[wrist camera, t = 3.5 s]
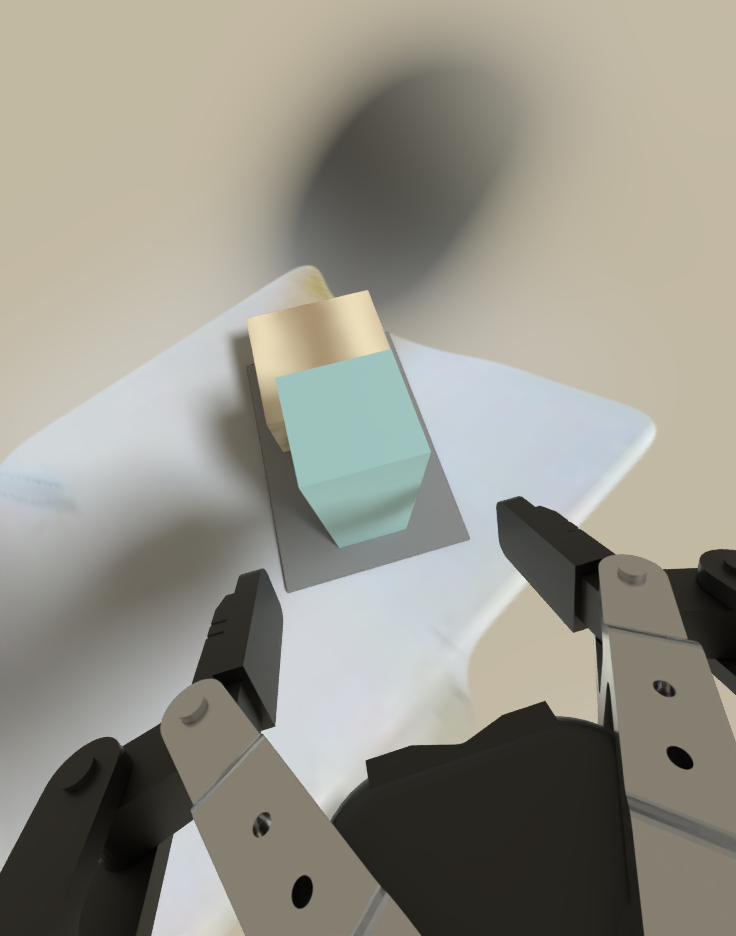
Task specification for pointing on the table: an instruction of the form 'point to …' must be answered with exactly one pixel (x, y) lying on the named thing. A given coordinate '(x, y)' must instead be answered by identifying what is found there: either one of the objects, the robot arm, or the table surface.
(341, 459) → the pillar
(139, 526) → the table surface
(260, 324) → the base block
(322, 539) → the mat
